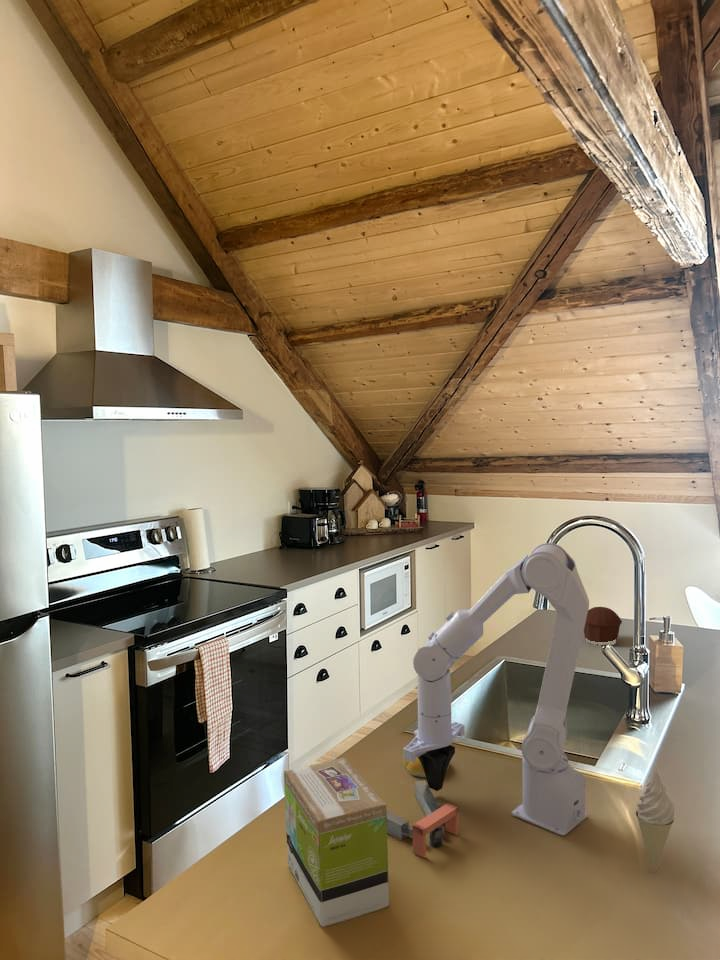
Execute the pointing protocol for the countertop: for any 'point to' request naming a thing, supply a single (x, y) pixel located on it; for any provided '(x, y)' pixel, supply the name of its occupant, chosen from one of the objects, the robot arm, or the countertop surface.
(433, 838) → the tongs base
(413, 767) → the bread roll
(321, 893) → the tea box
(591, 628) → the muffin
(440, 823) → the pink bridge block
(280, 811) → the countertop surface
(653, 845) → the ice cream cone
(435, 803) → the bar
